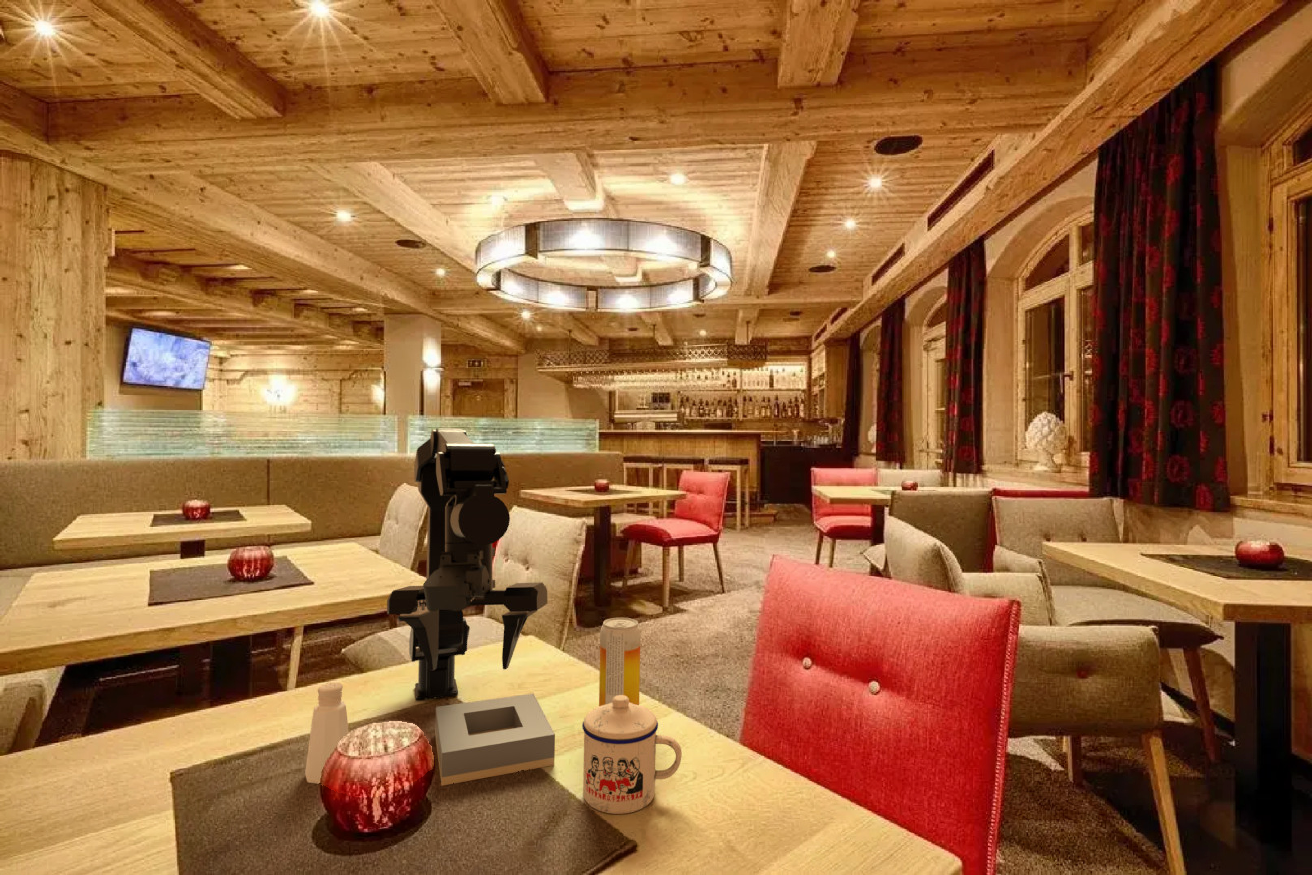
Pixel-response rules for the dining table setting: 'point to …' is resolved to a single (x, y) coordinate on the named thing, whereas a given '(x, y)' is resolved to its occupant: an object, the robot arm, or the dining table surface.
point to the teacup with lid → (622, 756)
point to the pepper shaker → (325, 729)
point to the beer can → (619, 660)
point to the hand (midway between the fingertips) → (469, 669)
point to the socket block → (492, 738)
